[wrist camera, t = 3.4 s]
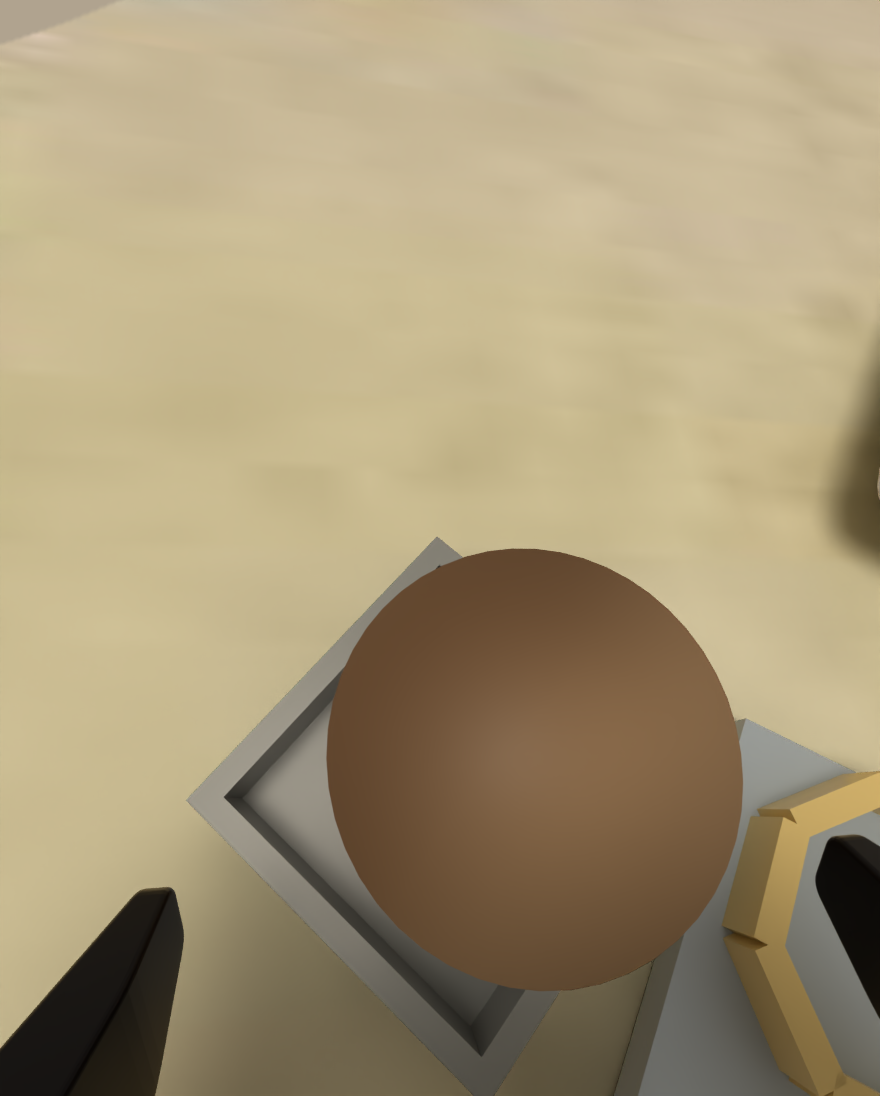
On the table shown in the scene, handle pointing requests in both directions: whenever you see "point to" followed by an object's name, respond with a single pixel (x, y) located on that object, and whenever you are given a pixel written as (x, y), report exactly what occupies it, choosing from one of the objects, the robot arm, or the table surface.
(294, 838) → the gray square tray
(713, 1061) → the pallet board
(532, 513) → the table surface
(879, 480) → the square plate
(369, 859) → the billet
